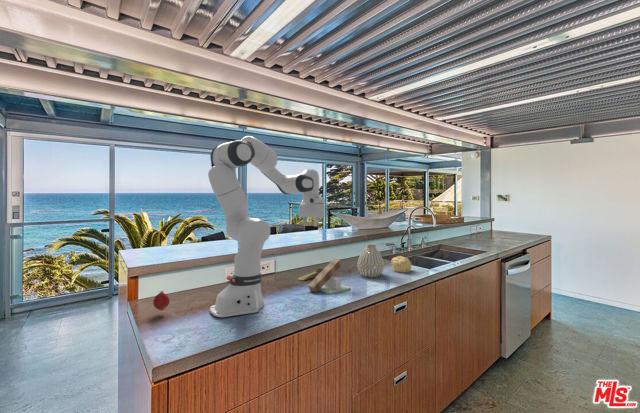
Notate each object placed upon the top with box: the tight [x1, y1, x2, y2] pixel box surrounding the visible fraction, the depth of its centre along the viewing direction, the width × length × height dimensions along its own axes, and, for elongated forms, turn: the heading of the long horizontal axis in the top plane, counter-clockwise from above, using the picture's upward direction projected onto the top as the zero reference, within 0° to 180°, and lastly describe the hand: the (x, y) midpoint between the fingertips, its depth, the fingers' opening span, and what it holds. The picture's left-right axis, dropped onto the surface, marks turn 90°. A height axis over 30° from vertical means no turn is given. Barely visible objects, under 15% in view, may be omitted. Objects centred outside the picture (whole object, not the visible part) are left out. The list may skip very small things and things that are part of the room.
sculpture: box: [390, 255, 412, 273], centre depth 189 cm, size 11×12×11 cm
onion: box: [152, 290, 170, 311], centre depth 121 cm, size 6×6×8 cm
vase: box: [356, 243, 385, 278], centre depth 178 cm, size 16×16×20 cm
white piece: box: [319, 275, 352, 295], centre depth 152 cm, size 14×13×6 cm
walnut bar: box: [307, 258, 343, 293], centre depth 153 cm, size 22×3×5 cm
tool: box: [297, 268, 324, 281], centre depth 173 cm, size 22×6×5 cm, turn 114°
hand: (310, 225), depth 157 cm, fingers open, 8 cm apart
